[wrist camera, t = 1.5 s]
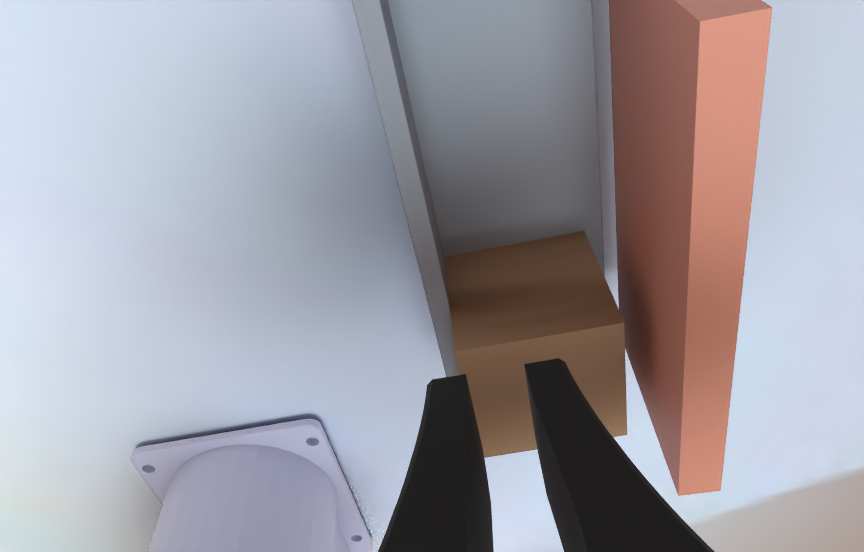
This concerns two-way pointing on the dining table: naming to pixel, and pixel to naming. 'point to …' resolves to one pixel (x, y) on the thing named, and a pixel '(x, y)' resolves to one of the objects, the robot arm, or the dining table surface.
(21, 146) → the dining table surface
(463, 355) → the block
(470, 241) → the grey boxy piece
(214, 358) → the dining table surface
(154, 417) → the dining table surface
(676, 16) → the thick rectangular slab
